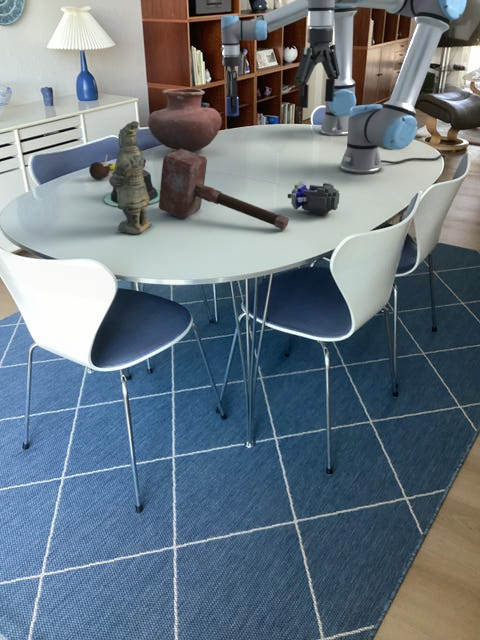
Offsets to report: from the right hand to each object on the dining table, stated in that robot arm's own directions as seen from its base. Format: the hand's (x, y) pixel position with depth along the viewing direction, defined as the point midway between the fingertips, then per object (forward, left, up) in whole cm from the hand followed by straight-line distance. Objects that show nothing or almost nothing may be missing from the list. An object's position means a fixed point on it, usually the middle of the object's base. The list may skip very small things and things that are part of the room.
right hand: (316, 104), depth 173 cm
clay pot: (+49, -60, -28) cm, 83 cm away
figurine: (+72, -27, -28) cm, 82 cm away
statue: (+55, +32, -28) cm, 69 cm away
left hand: (+30, -82, -16) cm, 89 cm away
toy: (+2, +19, -28) cm, 34 cm away
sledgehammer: (+28, +25, -28) cm, 48 cm away
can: (+30, -82, -17) cm, 89 cm away
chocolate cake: (+60, +2, -28) cm, 67 cm away
